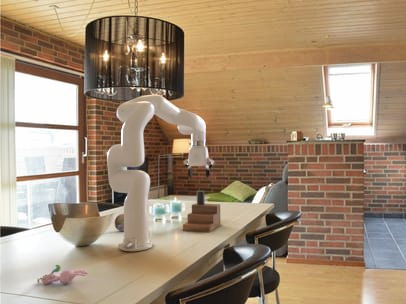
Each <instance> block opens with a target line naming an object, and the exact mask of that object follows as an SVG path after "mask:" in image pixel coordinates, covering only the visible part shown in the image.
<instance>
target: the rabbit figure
mask: <svg viewBox="0 0 406 304" xmlns="http://www.w3.org/2000/svg"><path fill="white" fill-rule="evenodd" d="M54 266H55V267H56V268H54V269H52V271H51V272H50V273H49V274H45V275H42V277H39V278H38V277H37V278H36V279H37V285H40V281H41V283H42V284H44V285H48V284H51V283H56V282H59V283H60V284H63V285H65V284H68V283H70V282H72V281H73V280H74V279H75V278H76V276H83V277H86V276H87V275H89V272H88V271H87V270H85V269H78V270H73V269H65V270H63V271H62V272H61V273H59V272H60V271H61V269H62V266H61V265H60V264H55V265H54ZM55 273H59V275H56V274H55Z"/></svg>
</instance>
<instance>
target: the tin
mask: <svg viewBox="0 0 406 304" xmlns="http://www.w3.org/2000/svg"><path fill="white" fill-rule="evenodd" d="M114 227H115V229H116V230H118V231H121V232H124V213H121V214H118V215H117V216H116V217H115V218H114Z"/></svg>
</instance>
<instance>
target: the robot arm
mask: <svg viewBox="0 0 406 304" xmlns="http://www.w3.org/2000/svg"><path fill="white" fill-rule="evenodd" d="M154 115H155V116H157V117H158V118H160V119H161V120H163V121H164V122H166V123H168V124H171V125H175V126H177V130H178V133H180V134H181V135H187V136H188V135H190V139H191V141H189V142H188V145H189V146H190V147H189V150H188V157H187V158H186V159H184V160H183V162H182V163H183V165H184V166H185V168H186V169H187V175H188V177H189V178H193V167H205V168H206V169H205V177H206V178H209V177H211V170H212V168H213V167H214V165H215V163H216V162H215V160H214V159H212V158H210V156H209V150H208V147H207V139H206V137H207V136H206V135H207V133H206V131H207V130H206V129H207V126H206V125H207V124H206V121H204V119H203V118H202V117H200V116H199V115H198V114H196V113H194V112H191V111H189V110H187V109H183V108H180V107H178V106H176V104H175V105H174V104H173V103H172V102H171V101H169V100H168V99H167V98H165V97H164V96H162V95H161V94H148V95H147V94H146V95H140V96H137V97H136V98H133V99H131V100H128V101H125V102H122V103H121V104H120V105H119V106H118V107H117V110H116V117H117V118H118V120H119V121H120V122H122V123H123V125H122V128H121V133H120V134H121V135H120V136H121V143H116V144H113V145H112V146H111V147H110V148H109V149H108V151H107V155H106V163H107V164H106V165H107V177H108V185H109V186H110V189H111V190H112V191H113V192H116V193H122V194H127V195H126V196H125V198H124V202H123V214H124V231H123V237H124V238H122V239H123V240H122V242H121V243H118V244H117V247H118V249H120V250H121V251H124V252H141V251H145V250H149V249H151V248H152V247H153V242H151V241H149V193H150V187H151V177H150V175H149V173H147V172H146V171H144V170H139V169H128V168H137V167H141V166H143V164H144V163H145V155H146V153H145V144H144V143H145V142H144V130H145V128H146V126H147V124H148V123H149V122H150V121H151V120H152V119H153V117H154Z"/></svg>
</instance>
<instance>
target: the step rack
mask: <svg viewBox="0 0 406 304" xmlns="http://www.w3.org/2000/svg"><path fill="white" fill-rule="evenodd" d="M186 217H187V218H186V221H187V222H185V223H183V224H182V231H185V232H199V233H200V232H202V233H210V232H212V231H213V230H215V229H217V228H218V227H220V226H221V224H222V223H221V204H220V203H205V204H204V205H197V202H196V203H193V204H191V212H189V213H187V216H186Z"/></svg>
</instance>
